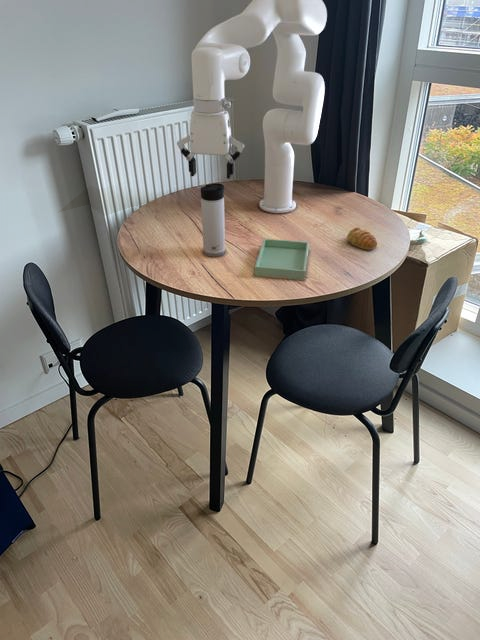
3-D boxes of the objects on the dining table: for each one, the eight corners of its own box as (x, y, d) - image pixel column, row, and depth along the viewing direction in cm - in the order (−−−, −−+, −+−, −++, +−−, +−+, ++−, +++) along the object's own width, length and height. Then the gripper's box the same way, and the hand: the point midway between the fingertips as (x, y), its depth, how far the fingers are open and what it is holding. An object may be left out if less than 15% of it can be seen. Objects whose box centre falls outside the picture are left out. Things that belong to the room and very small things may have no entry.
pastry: (382, 247, 142) (384, 235, 140) (365, 253, 140) (367, 241, 137) (360, 235, 149) (362, 224, 147) (343, 241, 146) (345, 229, 144)
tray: (263, 247, 143) (263, 238, 141) (308, 250, 141) (309, 241, 140) (254, 276, 129) (254, 266, 128) (304, 280, 127) (305, 271, 126)
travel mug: (218, 259, 137) (216, 190, 125) (199, 253, 140) (195, 186, 128) (230, 250, 141) (229, 183, 130) (211, 245, 144) (209, 179, 133)
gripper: (247, 104, 119) (246, 173, 129) (179, 101, 122) (183, 169, 132) (241, 110, 113) (241, 182, 123) (170, 107, 116) (175, 178, 126)
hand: (211, 175), depth 127 cm, fingers open, 9 cm apart
